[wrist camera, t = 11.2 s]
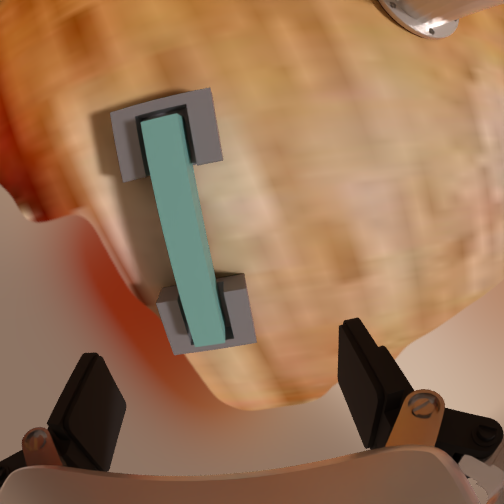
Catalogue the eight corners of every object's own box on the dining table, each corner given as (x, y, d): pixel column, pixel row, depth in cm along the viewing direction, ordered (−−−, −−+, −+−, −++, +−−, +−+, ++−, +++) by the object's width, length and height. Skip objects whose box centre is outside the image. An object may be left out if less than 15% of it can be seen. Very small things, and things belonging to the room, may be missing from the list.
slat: (152, 125, 26) (140, 122, 22) (184, 117, 26) (176, 113, 22) (198, 322, 34) (195, 347, 29) (224, 318, 34) (225, 342, 29)
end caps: (122, 115, 27) (109, 112, 23) (211, 94, 27) (210, 87, 23) (177, 336, 35) (174, 355, 32) (253, 324, 35) (256, 342, 32)
